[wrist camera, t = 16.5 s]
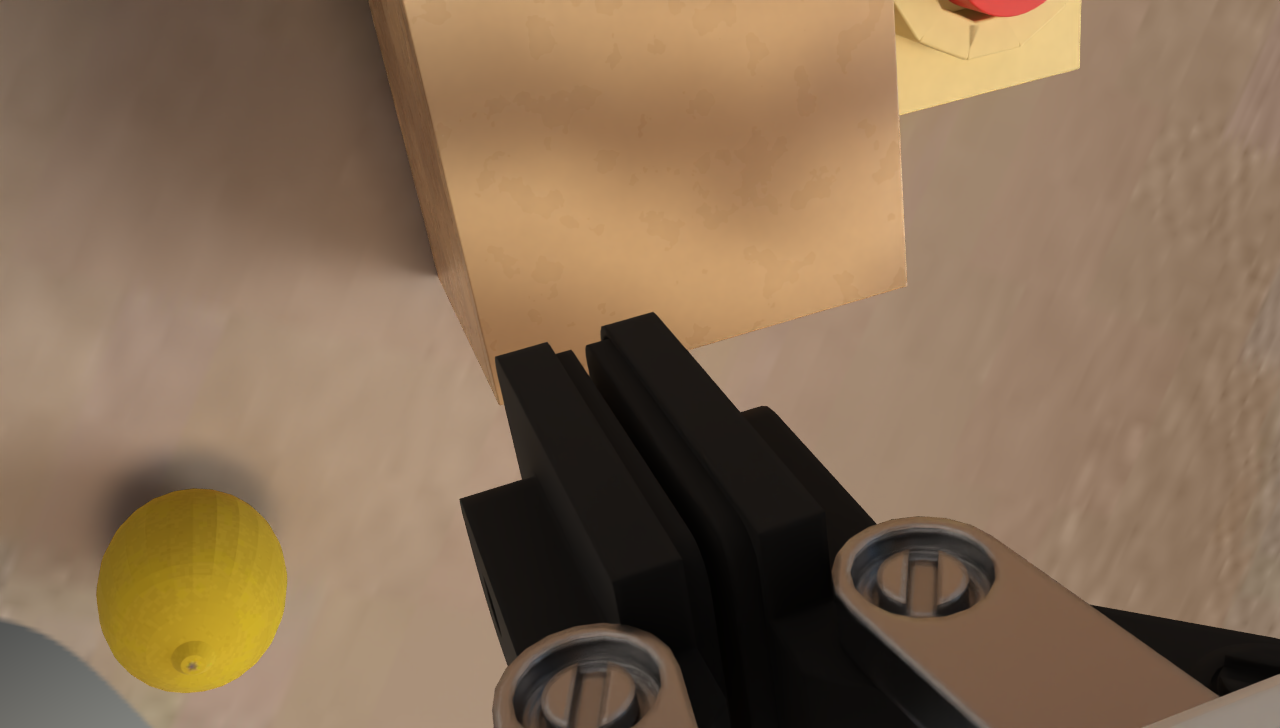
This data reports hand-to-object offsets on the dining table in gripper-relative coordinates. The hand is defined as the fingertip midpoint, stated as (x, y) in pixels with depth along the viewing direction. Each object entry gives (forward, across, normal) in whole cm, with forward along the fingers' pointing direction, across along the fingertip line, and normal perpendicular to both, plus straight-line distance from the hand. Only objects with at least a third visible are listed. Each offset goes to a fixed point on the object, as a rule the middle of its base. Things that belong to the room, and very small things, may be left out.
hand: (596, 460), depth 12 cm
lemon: (+27, +9, +15) cm, 32 cm away
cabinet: (+27, -7, +2) cm, 28 cm away
